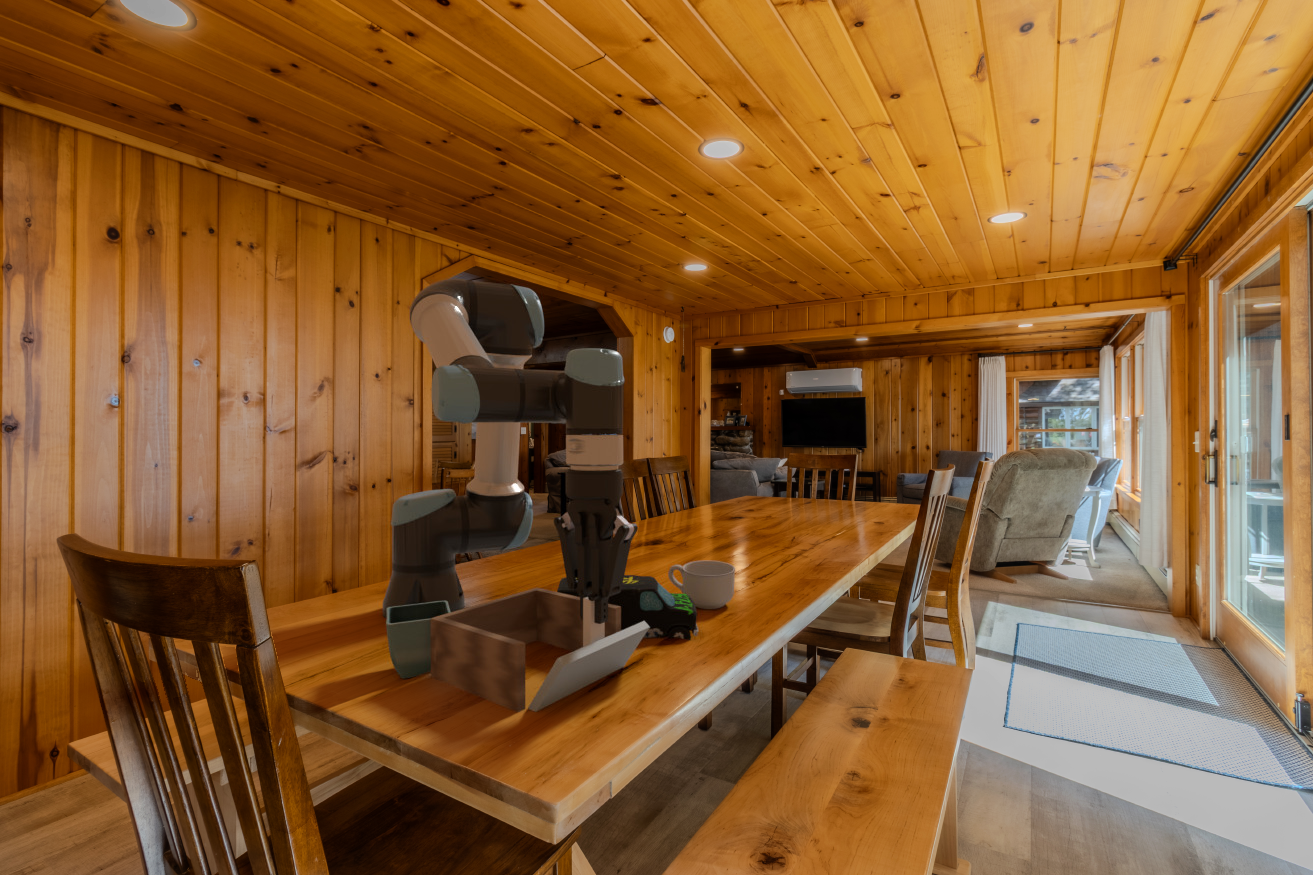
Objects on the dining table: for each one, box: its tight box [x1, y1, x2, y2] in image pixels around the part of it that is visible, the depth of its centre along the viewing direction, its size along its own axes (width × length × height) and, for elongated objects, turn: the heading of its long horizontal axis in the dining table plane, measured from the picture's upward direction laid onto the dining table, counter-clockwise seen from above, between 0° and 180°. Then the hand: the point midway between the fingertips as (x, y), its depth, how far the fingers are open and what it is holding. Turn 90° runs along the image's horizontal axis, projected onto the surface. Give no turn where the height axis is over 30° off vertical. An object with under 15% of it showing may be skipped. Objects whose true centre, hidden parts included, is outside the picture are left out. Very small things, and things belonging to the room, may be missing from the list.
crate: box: [430, 587, 621, 713], centre depth 88 cm, size 18×20×10 cm
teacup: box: [667, 559, 736, 610], centre depth 125 cm, size 14×11×8 cm
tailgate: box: [528, 621, 649, 713], centre depth 81 cm, size 1×17×9 cm
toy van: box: [556, 574, 699, 641], centre depth 105 cm, size 11×25×10 cm, turn 94°
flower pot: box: [385, 601, 451, 679], centre depth 90 cm, size 9×9×9 cm
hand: (593, 645), depth 80 cm, fingers closed
